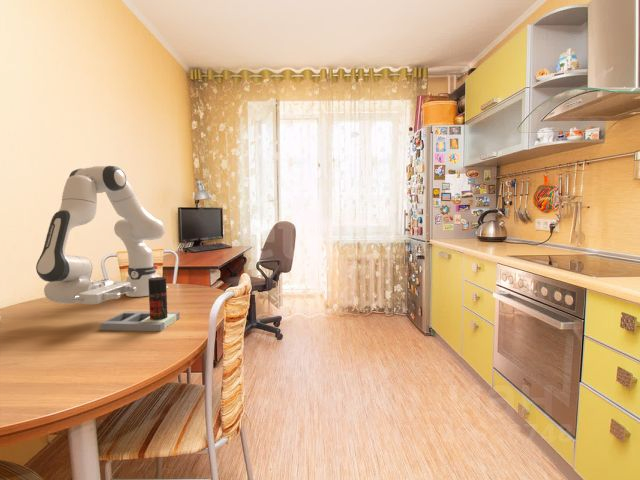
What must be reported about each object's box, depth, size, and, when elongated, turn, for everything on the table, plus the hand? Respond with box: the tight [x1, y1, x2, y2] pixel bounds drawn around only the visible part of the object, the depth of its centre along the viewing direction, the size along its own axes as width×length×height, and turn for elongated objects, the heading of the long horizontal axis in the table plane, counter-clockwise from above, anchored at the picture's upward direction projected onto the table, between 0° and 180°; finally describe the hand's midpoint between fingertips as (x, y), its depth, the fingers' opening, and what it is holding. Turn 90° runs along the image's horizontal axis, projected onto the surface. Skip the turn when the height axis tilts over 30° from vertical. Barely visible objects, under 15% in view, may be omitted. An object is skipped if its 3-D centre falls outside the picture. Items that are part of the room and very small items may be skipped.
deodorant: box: [148, 276, 168, 320], centre depth 119 cm, size 6×6×15 cm
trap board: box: [99, 310, 180, 332], centre depth 120 cm, size 14×22×2 cm, turn 88°
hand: (127, 292), depth 119 cm, fingers open, 8 cm apart
